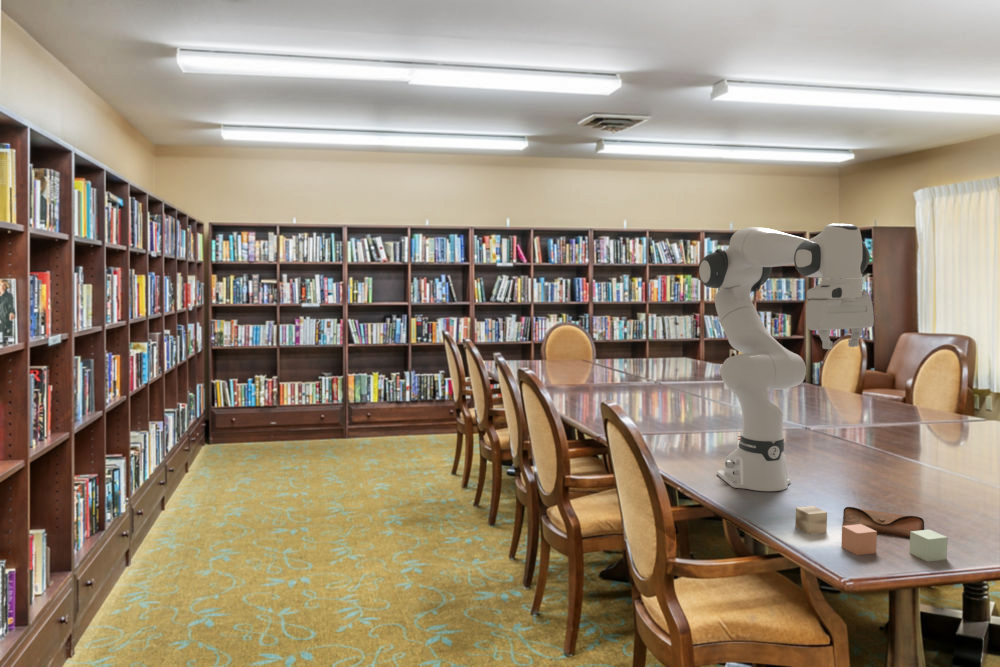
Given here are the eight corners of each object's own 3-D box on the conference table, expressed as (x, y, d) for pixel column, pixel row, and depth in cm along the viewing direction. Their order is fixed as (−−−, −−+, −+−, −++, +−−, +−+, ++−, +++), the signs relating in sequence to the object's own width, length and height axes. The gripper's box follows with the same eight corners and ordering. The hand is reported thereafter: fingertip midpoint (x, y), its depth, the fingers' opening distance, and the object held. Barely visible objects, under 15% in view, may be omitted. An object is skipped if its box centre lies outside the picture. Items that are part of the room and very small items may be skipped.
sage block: (909, 553, 164) (910, 531, 164) (928, 551, 166) (929, 529, 165) (927, 561, 160) (928, 539, 159) (946, 559, 161) (947, 537, 160)
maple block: (795, 527, 181) (795, 507, 181) (813, 525, 183) (813, 505, 182) (808, 534, 177) (808, 514, 176) (826, 532, 178) (827, 512, 177)
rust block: (841, 547, 168) (842, 525, 168) (860, 545, 170) (860, 523, 169) (856, 555, 164) (857, 533, 163) (876, 553, 165) (876, 531, 164)
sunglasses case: (839, 528, 180) (841, 501, 183) (841, 534, 186) (843, 508, 188) (925, 541, 171) (925, 512, 174) (924, 547, 177) (924, 519, 179)
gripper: (858, 289, 186) (857, 344, 187) (801, 291, 177) (801, 349, 177) (881, 289, 181) (880, 346, 181) (824, 291, 171) (823, 351, 172)
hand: (840, 347), depth 179 cm, fingers open, 8 cm apart
